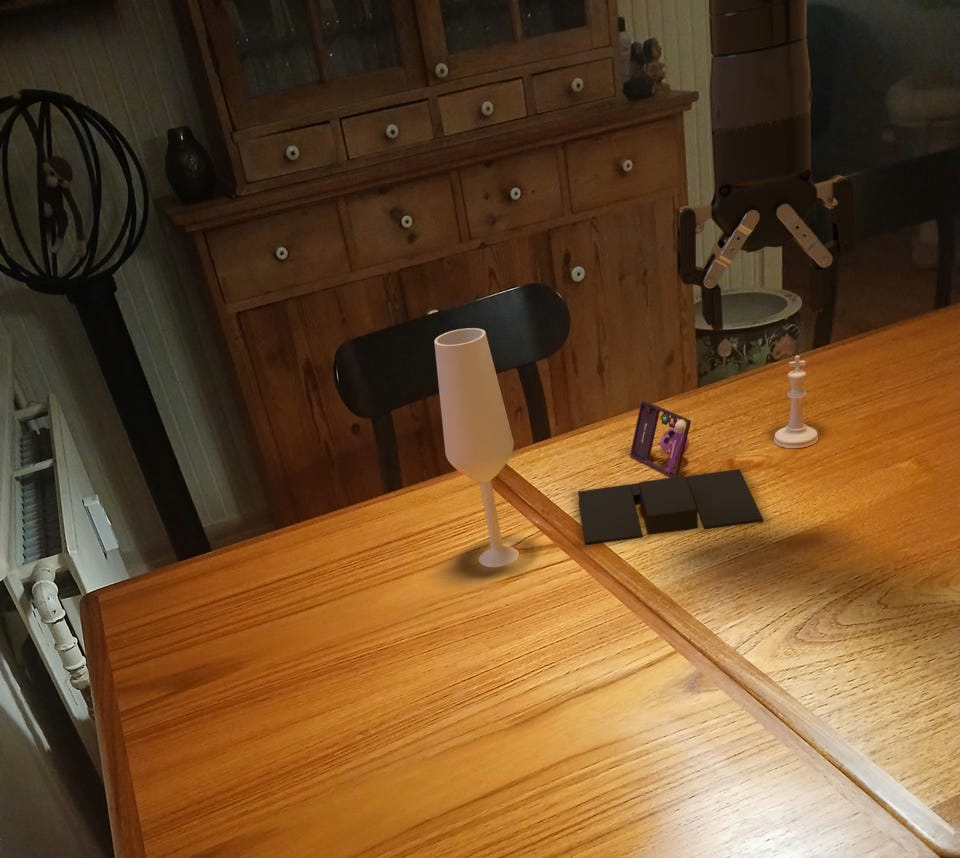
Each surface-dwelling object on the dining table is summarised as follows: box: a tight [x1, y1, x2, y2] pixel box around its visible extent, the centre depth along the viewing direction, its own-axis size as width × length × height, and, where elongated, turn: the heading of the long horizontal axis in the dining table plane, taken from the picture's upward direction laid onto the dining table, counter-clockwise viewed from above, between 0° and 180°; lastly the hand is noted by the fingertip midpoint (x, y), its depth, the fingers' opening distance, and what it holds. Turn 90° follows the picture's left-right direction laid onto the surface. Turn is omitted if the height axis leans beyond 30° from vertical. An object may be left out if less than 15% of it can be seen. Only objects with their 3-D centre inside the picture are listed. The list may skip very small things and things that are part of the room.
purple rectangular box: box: [629, 400, 692, 478], centre depth 115 cm, size 7×5×9 cm
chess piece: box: [773, 355, 819, 449], centre depth 113 cm, size 5×5×10 cm
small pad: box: [638, 475, 699, 535], centre depth 104 cm, size 5×8×3 cm, turn 179°
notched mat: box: [577, 468, 764, 546], centre depth 105 cm, size 18×12×1 cm, turn 89°
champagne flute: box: [433, 327, 520, 568], centre depth 96 cm, size 7×7×24 cm
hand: (765, 319), depth 86 cm, fingers open, 8 cm apart
